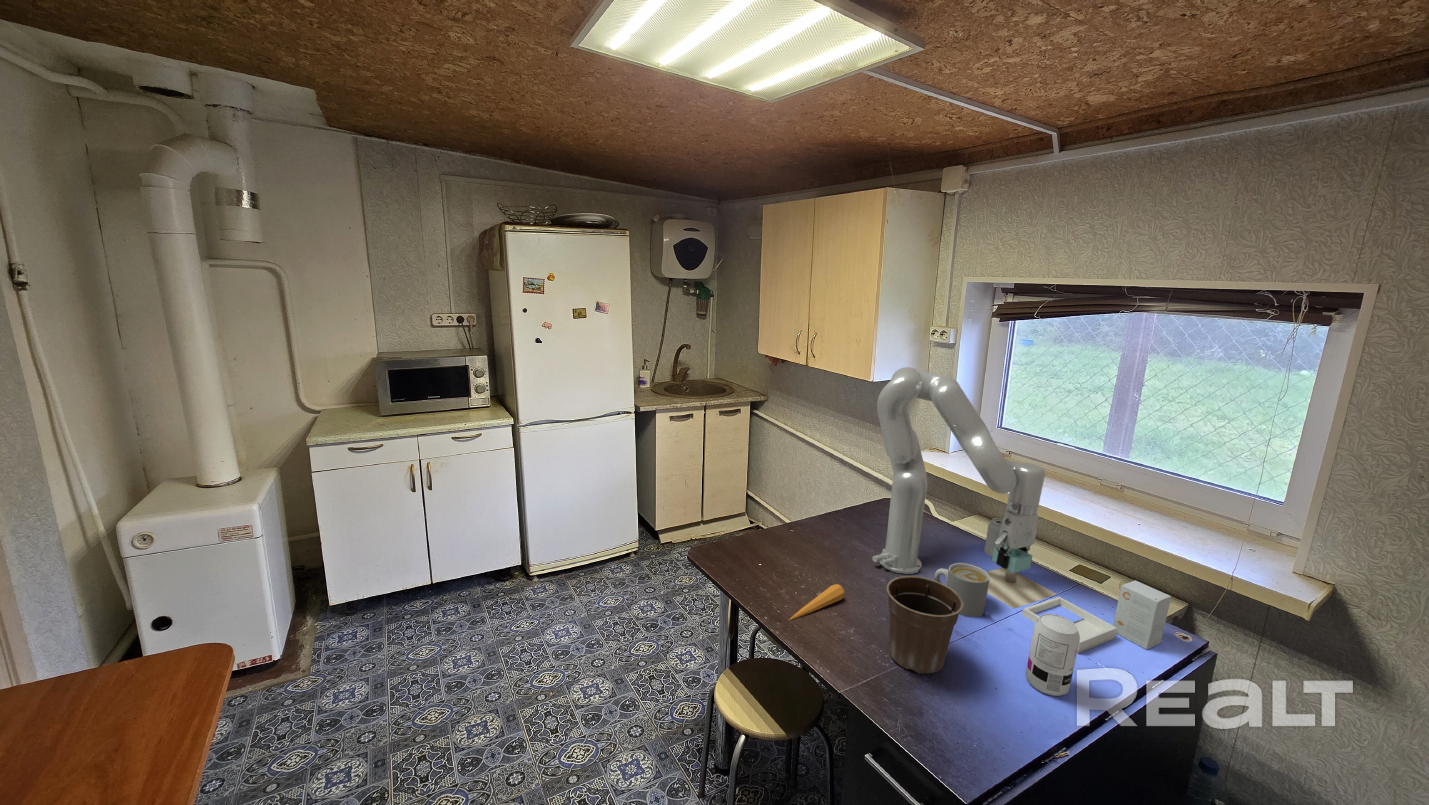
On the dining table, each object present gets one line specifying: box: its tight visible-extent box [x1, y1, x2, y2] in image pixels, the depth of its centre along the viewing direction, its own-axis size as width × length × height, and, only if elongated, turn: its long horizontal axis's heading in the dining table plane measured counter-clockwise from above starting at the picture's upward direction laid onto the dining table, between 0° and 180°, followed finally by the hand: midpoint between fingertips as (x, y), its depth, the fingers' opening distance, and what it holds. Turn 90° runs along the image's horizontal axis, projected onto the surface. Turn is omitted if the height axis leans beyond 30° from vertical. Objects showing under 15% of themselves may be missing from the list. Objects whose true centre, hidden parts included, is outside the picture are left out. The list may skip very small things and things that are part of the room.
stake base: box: [986, 567, 1058, 610], centre depth 155 cm, size 18×16×6 cm
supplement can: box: [1025, 613, 1080, 697], centre depth 117 cm, size 8×8×15 cm
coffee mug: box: [933, 562, 990, 618], centre depth 147 cm, size 13×10×10 cm
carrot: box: [787, 583, 845, 622], centre depth 144 cm, size 20×4×4 cm, turn 126°
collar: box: [991, 546, 1033, 573], centre depth 157 cm, size 7×8×4 cm
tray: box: [1021, 596, 1117, 655], centre depth 138 cm, size 15×15×3 cm
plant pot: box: [886, 575, 963, 675], centre depth 125 cm, size 16×16×16 cm
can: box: [983, 517, 1008, 557], centre depth 173 cm, size 8×8×12 cm
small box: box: [1112, 580, 1172, 650], centre depth 135 cm, size 8×6×13 cm
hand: (1010, 563), depth 157 cm, fingers closed on collar, 7 cm apart
